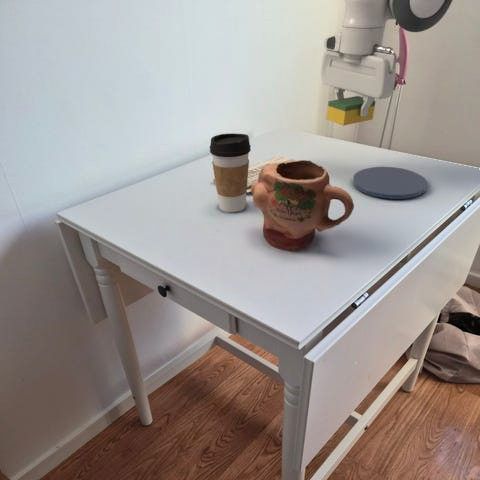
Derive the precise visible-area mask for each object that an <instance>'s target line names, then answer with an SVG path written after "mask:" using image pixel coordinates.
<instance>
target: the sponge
mask: <svg viewBox="0 0 480 480" xmlns="http://www.w3.org/2000/svg"><path fill="white" fill-rule="evenodd" d="M327 103H328V104H327V112H326V120H327V121H329V122H332V123H334V124H338V125H341V126H348V125H353V124H358V123H364V122H367V121H373V118H374V112H375V108H376V100H374V101H373V102H372V104H371V105H370V107H369V108H368V114H367V116H365V117H361V116H358V108H359V107H362V105H363V103H364V100H363V96H359V95H356V96H355V95H354V96H350V97H344V99H338V100H336V99H333V100H332V99H331V100H329V101H328V102H327Z"/></svg>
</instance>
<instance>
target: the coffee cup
mask: <svg viewBox="0 0 480 480" xmlns="http://www.w3.org/2000/svg"><path fill="white" fill-rule="evenodd" d="M250 143H251V142H250V136H249V135H248V134H245V133H221V134H216V135H214V136H212V137H211V138H210V145H209V153H210V154H211V156H212V161H211V164H212V169H213V176H214V179H215V182H216V183H215V188H216V194H217V201H218V207H219V209H220V210H221V211H223V212H226V213H238V212H241V211H243V210H245V209H246V207H247V206H246V205H247V192H246V191H247V180H248V168H249V167H250V159H249V154H250V152H251V150H252V149H251V144H250Z"/></svg>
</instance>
